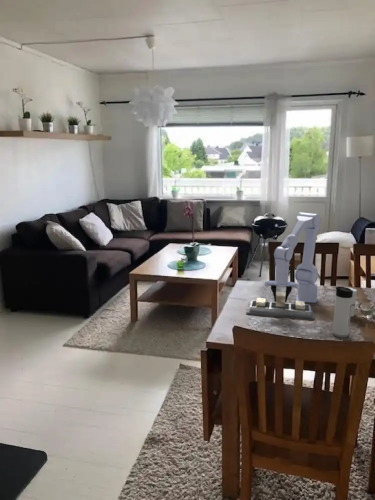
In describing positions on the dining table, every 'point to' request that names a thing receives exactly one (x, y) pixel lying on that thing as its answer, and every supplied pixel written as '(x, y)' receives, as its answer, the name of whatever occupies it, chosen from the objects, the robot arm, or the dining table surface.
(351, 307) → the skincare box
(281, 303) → the birch block
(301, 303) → the rail
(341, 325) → the travel mug
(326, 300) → the dining table surface
